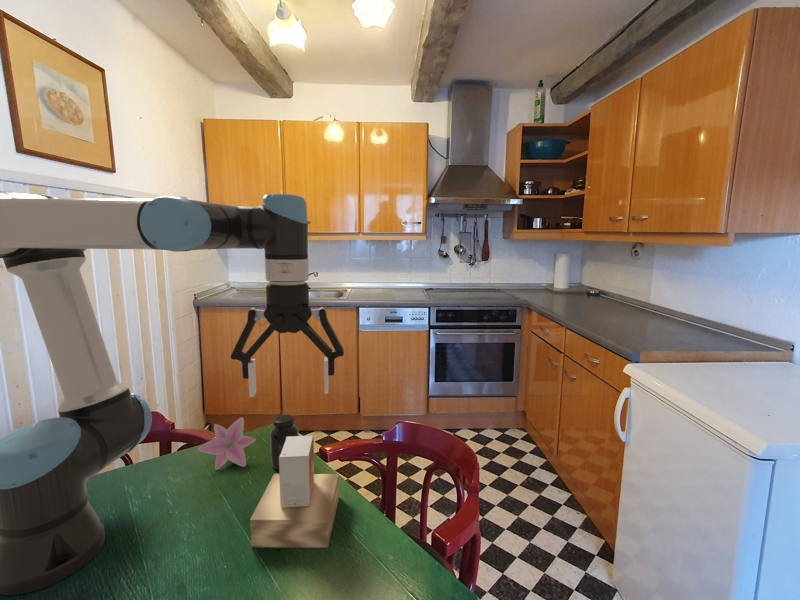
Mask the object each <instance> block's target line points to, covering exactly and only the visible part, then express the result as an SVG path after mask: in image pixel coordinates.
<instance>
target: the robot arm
mask: <svg viewBox="0 0 800 600" xmlns="http://www.w3.org/2000/svg"><path fill="white" fill-rule="evenodd" d="M307 208H308V207H307V201H306V200H305V198H304V197H302V196H299V195H294V194H289V193H288V194H287V193H273V194H272V193H268V194H265V195H264V196H263V197H262V204H261V205H258V206H244V205H243V206H242V205H241V206H240V205H239V206H238V205H228V204H221V203H214V202H209V201H202V200H195V199H191V198H187V197H186V196H177V195H176V196H175V195H173V196H172V195H168V196H167V195H163V196H162V195H161V196H157V197H154V198H95V197H93V198H87V197H86V198H83V197H81V198H79V197H78V198H77V197H76V198H70V197H68V198H67V197H66V198H65V197H64V198H63V197H62V198H60V197H59V198H58V197H52V196H51V195H46V194H42V193H36V194H32V193H20V192H13V191H6V190H5V191H4V190H0V259H2V261H3V263H4V266H5V268H6V271H7V272H8V273H10V274H12V275H14V276H16V277H19V278H20V279H21V281H22V283H23V285H24V289H25V291H26V294H27V298H28V300H29V303H30V306H31V308H32V310H33V311H32V312H33V313H34V317H35V319H36V323H37V325H38V328H39V330H40V334H41V337H42V339H43V341H44V344H45V347H46V350H47V353H48V356H49V358H50V362H51V364H52V367H53V371H54V373H55V374H56V378H57V382H58V383H59V386H60V389H61V392H62V395H63V401H62V402H61V403H60V405H59V406H58V408H57V412H58V415H59V417H51V418H47V419H42V420H39V421H38V422H36V423H29V424H26V425H24V426H22V427H21V426H20V427H19V428H17V429H15V430H13V431H12V432H9V433H8V434H6V435H4V436H3V437H2V438H0V595H3V596H16V595H23V594H29V593H33V592H36V591H38V590H41V589H44V588H47V587H50V586H52V585H54V584H56V583H58V582H61V581H63V580H64V579H66V578H68V577H70V576H72V575H73V574H75V573H76V572H77V571H80V569H82V568H84V567H85V566H86V565H87V564H88V563H89V562H91V561H92V560H93V559H94V557H96V556H97V554H98V553H99V552H100V550H101V549H102V547H103V545H104V544H105V540H106V532H105V525H104V523H103V521H102V520H101V519H100V517H98V514H97V513H96V511H95V509H94V508H93V507H92V505H91V504H90V502H89V497H88V489H87V487H88V486H87V481H88V480H89V479H91V478H92V477H94V476H96V474H98V473H99V472H101V471H103V470H104V469H106V468H107V467H108V466H110V465H111V464H113V463H114V462H115V461H117V460H119V458H121V457H123V456H125V455H126V454H128V453H130V452H131V451H133V450H134V449H135V448H136V447H137V445H139V444H140V443H141V442H142V441H143V440H144V439H146V437H147V435H148V434H149V433H150V429H151V427H152V422H153V417H152V416H153V415H152V411H151V408H150V406H149V404H148V402H147V401H146V400H145V399H144V398H141V396H140V395H139V394H137V393H135V392H131V390H130V387H129V386H128V385H127V384H124V383H121V382H119V381H118V379H117V377H116V374H115V371H114V368H113V365H112V363H111V359H110V357H109V354H108V350H107V347H106V344H105V342H104V338H103V336H102V332H101V330H100V326H99V324H98V320H97V318H96V314H95V311H94V308H93V305H92V303H91V299H90V296H89V294H88V290H87V287H86V285H85V282H84V280H83V275H82V273H81V267H82V266H83V264H85V262H86V261H87V259H86V255H85V251H86V250H88V249H89V250H96V249H97V250H108V249H109V250H153V251H154V250H158V251H159V250H160V251H169V252H175V253H176V252H178V253H179V252H191V251H199V250H201V251H203V250H224V249H225V250H226V249H227V250H229V249H257V250H262V249H264V265H265V267H264V268H265V270H264V271H265V280H266V281H267V282H268V283H267V284H266V285H265V294H266V295H265V298H266V301H265V302H266V306H265V307H266V308H265V309H258V308H257V307H252V308H251V309H249V310H248V311H247V319H246V323H245V326H244V328H243V330H242V332H241V333H240V336H239V338H238V340H237V342H236V344H235V347H234V348H233V350H232V352H231V354H230V358H231V359H232V360H233V361H235V360H237V361H239V362H241V365H242V367H241V369H242V371H241V372H242V377H243V379H244V380H247V379H248V393H249V394H248V397H249V398H254V397H255V396H256V394H257V392H258V391H257V370H256V369H257V364H256V358H252V357H253V356H255V355H254V354H256V353H257V351H258V350H259V349H260V348H261V347H262V345H263V344H264V343H265V342H266V341H267V339H268V338H269V337H270V336H272V334H273V333H274V332H275V331H276V332H277V333H279V334H285V333H291V334H297V333H299V332H302V333H303V334H304V335H305V336H306V337H307V338H309V340H310V341H311V342H312V344H314V346H316V347H317V348H318V350H320V352H321V353H322V354H323V355H324V357H323V358H324V359H323V381H324V382H323V384H324V386H323V387H324V389H323V390H324V392H323V393H324V395H328V394H329V391H330V390H329V388H330V387H329V385H330V384H329V382H330V381H329V378H330V377H329V376H331V377H332V376H335V360H336V359H337V358H339V357H343V356H344V355H345V353H344V351H345V350H344V348H343V346H342V343H341V342H340V340H339V338H338V336H337V335H336V332H335V330H334V328H333V327H332V324H331V323H330V320H329V319H328V315H327V309H326V307H325V306H321V307H320V308H312V309H311V307H310V295H309V294H310V293H309V291H310V289H309V287H310V286H309V284H308V283H307V281H308V280H310V279H309V253H308V251H309V250H308V249H309V248H308V245H309V239H308V237H309V233H308V232H309V220H308V210H307ZM312 316H313V317H314V319H315V320H317V321H320V324H321V326H322V328H323V330H324V332H325V334H326V336H327V338H328V340H329V341H330V343H331V345H332V347H333V349H332V348H331V347H330V346H329V345H328V344H327V342H325V340H324V339H323V338H322V337H321V336H320V335H319V333H317V332H316V331H315V330H314V328H313V327H312V325H310V323H309V322H308V321H309V320H310V319H311V318H312ZM262 317H264V319H265V320H266V321H267V322H268V323H269V325H268V326H267V327H266V329H265V330H264V331H263V333H261V335H260V336H258V338H257V339H256V340H255V342H253V344H252V345H251V346H250V348H249V349H248V350H247V351H246V352H244V351H243V350H244V349H245V346H246V344H247V342H248V340H249V338H250V335H251V334H252V332H253V329H254V327H255V326H256V323H257V322H259V321H260V320H261V319H262Z"/></svg>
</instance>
